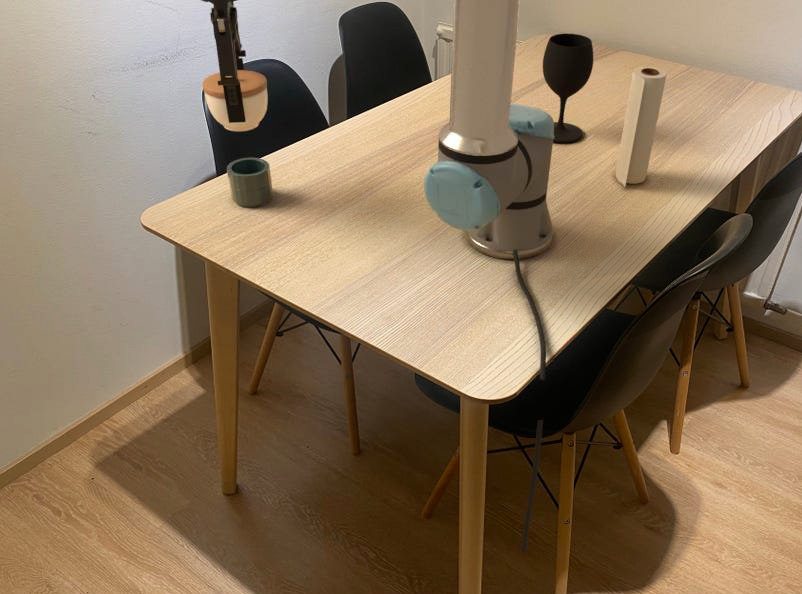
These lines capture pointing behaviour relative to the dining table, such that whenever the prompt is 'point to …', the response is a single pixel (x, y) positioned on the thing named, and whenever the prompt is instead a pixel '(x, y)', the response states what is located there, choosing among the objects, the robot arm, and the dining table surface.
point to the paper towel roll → (640, 124)
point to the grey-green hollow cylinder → (250, 182)
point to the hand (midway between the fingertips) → (238, 108)
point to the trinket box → (251, 95)
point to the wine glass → (567, 76)
